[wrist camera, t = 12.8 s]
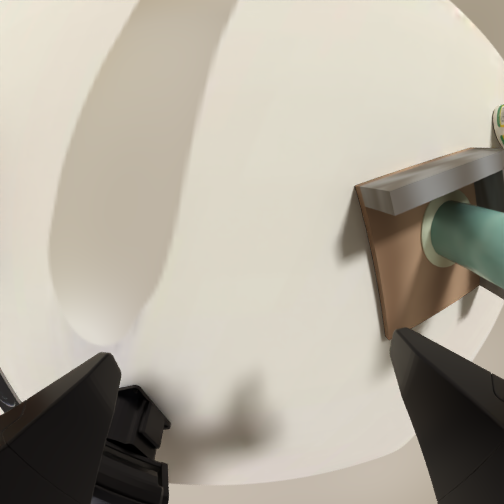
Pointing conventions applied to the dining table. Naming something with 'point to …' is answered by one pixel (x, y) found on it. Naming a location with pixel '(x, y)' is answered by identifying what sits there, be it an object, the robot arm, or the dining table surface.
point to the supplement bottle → (499, 123)
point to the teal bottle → (471, 238)
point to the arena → (425, 231)
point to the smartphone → (7, 394)
